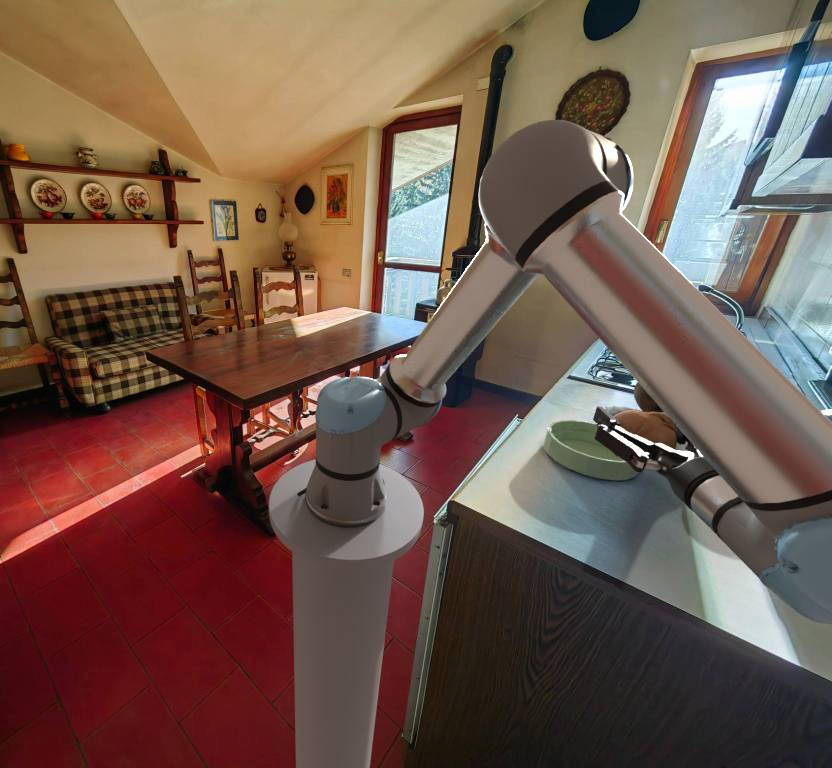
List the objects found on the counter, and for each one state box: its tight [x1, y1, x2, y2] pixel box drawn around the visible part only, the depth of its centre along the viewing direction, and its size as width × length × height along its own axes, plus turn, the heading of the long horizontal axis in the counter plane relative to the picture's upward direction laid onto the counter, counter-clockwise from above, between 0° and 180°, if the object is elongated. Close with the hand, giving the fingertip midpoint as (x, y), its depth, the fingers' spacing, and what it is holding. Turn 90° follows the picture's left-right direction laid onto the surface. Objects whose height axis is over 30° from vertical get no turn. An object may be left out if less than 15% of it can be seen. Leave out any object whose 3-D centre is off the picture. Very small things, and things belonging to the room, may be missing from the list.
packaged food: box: [604, 405, 636, 417], centre depth 102 cm, size 9×12×5 cm
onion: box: [613, 409, 678, 461], centre depth 66 cm, size 10×9×10 cm
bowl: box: [543, 419, 639, 481], centre depth 88 cm, size 18×18×5 cm
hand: (628, 416), depth 69 cm, fingers closed on onion, 9 cm apart
